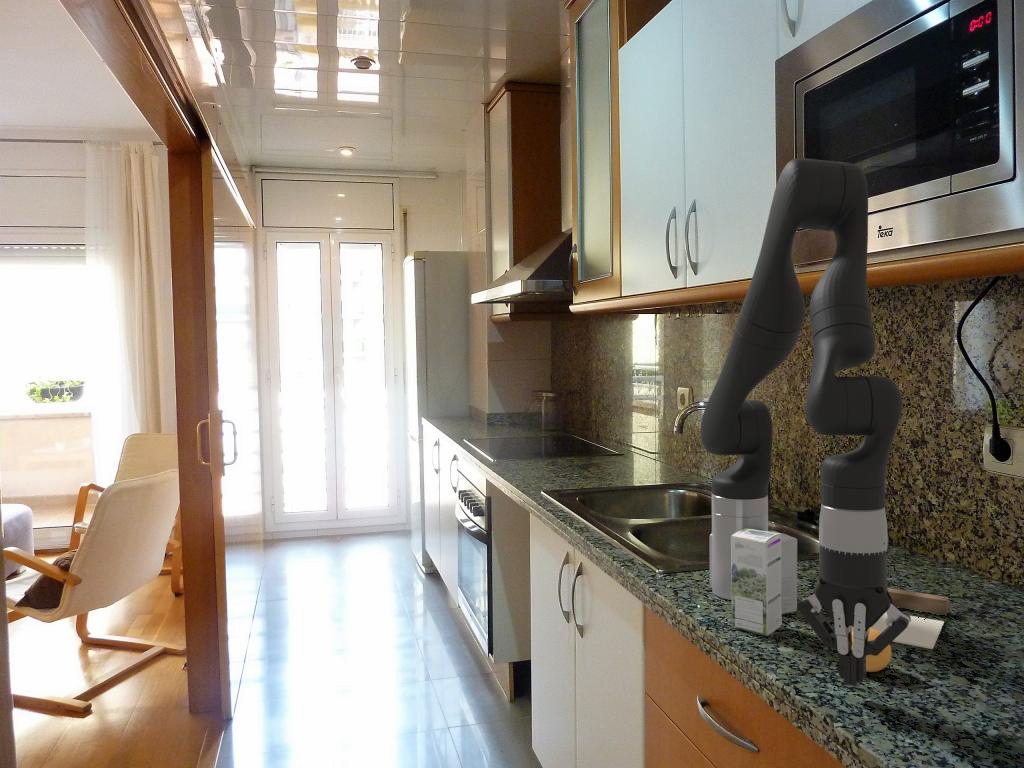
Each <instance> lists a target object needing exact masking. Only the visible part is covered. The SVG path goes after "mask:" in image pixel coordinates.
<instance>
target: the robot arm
mask: <svg viewBox="0 0 1024 768" xmlns="http://www.w3.org/2000/svg"><path fill="white" fill-rule="evenodd" d="M867 182H868V181H867V178H866V175H865V173H864V170H863V169H862V168H861V167H860V166H859V165H857V164H855V163H851V162H844V161H835V160H825V159H824V160H823V159H816V158H805V157H802V158H799V157H798V158H793V159H791V160H790V161H788V162H787V163H786V164H785V166H784V168H783V169H782V171H781V172H780V175H779V177H778V181H777V183H776V186H775V189H774V192H773V196H772V200H771V201H772V202H771V205H770V209H769V212H768V217H767V223H766V226H765V229H764V230H765V231H764V235H763V239H762V244H761V246H760V247H761V248H760V251H759V255H758V257H757V258H758V259H757V262H756V266H755V269H754V272H753V275H752V278H751V280H750V283H749V286H748V289H747V291H746V295H745V297H744V300H743V303H742V305H741V309H740V311H739V314H738V318H737V321H736V323H735V328H734V332H733V335H732V338H731V341H730V346H729V349H728V351H727V355H726V357H725V360H724V362H723V366H722V367H721V368H722V369H721V372H720V374H719V377H718V378H717V380H716V382H715V385H714V387H713V389H712V392H711V394H710V396H709V398H708V400H707V402H706V405H705V407H704V411H703V414H702V417H701V422H700V430H699V431H700V439H701V444H702V446H703V447H704V449H705V450H706V452H708V453H709V454H712V455H716V456H738V458H737V461H736V462H735V463H734V464H733V465H732V466H730V467H729V468H728V469H726V470H723V471H722V472H719V473H718V474H716V475H714V476H713V477H712V480H711V533H710V534H709V538H708V539H709V588H711V589H712V590H711V591H712V593H713V595H715V596H717V597H719V598H721V599H725V600H729V601H730V600H731V601H732V575H731V571H732V570H731V537H732V536H731V535H733V534H735V533H736V532H738V531H740V530H743V529H753V530H760V531H769V511H768V510H769V495H768V493H769V484H770V480H771V477H772V459H773V458H772V456H773V455H772V454H773V452H772V451H773V442H774V441H773V440H774V438H773V436H774V430H773V418H772V414H771V411H770V409H769V407H768V406H767V405H766V403H764V402H763V401H761V400H758V399H747V397H749V394H750V393H751V392H752V391H753V390H754V389H755V388H756V387H757V386H759V384H760V383H761V382H762V381H763V380H765V379H766V378H767V377H769V376H770V375H771V373H773V372H774V371H775V370H776V369H778V367H779V366H780V365H782V363H784V361H785V360H786V359H787V358H788V357H789V356H790V354H791V353H792V351H793V349H794V347H795V346H796V343H797V339H798V337H799V335H800V332H801V330H802V327H803V324H804V322H805V318H806V314H807V313H806V312H807V311H806V310H807V307H806V301H805V298H804V294H803V290H802V288H801V285H800V282H799V280H798V276H797V275H796V274H797V273H796V271H795V270H796V269H795V267H794V263H793V262H794V261H793V258H792V255H793V254H792V250H793V244H794V239H795V236H796V233H797V232H798V230H799V229H804V230H805V229H806V230H813V231H815V230H817V231H827V232H828V231H829V232H833V234H834V236H835V243H836V247H835V252H834V255H832V258H831V261H830V262H829V264H828V265H827V266H826V268H825V270H824V272H823V273H822V275H821V276H820V278H819V280H818V282H817V283H816V284H815V286H814V288H813V290H812V294H811V297H810V302H809V321H810V328H811V329H810V330H811V338H812V346H813V347H812V348H813V359H812V361H813V362H812V369H811V377H810V381H809V385H808V390H807V394H806V397H805V403H804V415H805V418H806V420H807V423H808V425H809V427H810V428H811V429H812V430H814V432H816V433H817V434H819V435H823V436H864V437H863V440H862V442H861V443H860V445H858V447H856V449H854V450H851V451H846V452H844V453H837V454H834V455H833V454H832V455H829V456H828V457H826V458H824V459H823V461H822V463H821V468H820V482H821V483H820V496H821V497H820V513H819V519H818V568H819V569H818V584H817V585H816V586H815V589H814V593H813V594H812V595H810V596H804V597H803V598H802V599H801V600H800V601H799V602H797V610H798V611H799V612H800V613H801V615H802V616H803V617H804V619H805V620H806V622H807V623H808V625H810V627H811V629H812V630H813V632H815V634H816V635H817V637H818V639H819V640H820V641H821V643H822V644H823V646H826V647H831V648H833V649H835V651H836V652H837V655H838V676H839V678H840V679H842V680H843V684H844V685H847V686H852V687H856V688H858V687H859V685H860V684H862V683H864V680H865V678H866V676H867V671H866V656H867V655H873V656H877V655H879V654H880V653H881V652H882V651H883V650H884V649H885V648H886V647H887V646H888V645H889V644H890V645H891V644H892V641H893V640H894V639H895V638H896V637H897V636H899V635H900V634H901V633H902V632H903V631H904V630H905V629H906V628H907V626H908V625H909V623H910V621H911V617H910V616H911V615H910V614H909V613H906V612H901V611H900V610H899V609H898V608H896V607H894V606H893V605H892V598H891V596H890V594H889V592H888V589H887V588H888V544H889V535H888V523H887V522H888V521H887V517H886V516H887V515H886V471H887V467H888V466H887V465H888V462H889V457H890V453H891V449H892V445H893V441H894V439H895V437H896V433H897V430H898V427H899V424H900V421H901V418H902V413H903V405H904V404H903V403H904V401H903V396H902V393H901V389H899V388H898V386H897V384H896V383H895V382H894V381H893V380H892V379H890V378H889V377H886V376H881V375H879V376H878V375H873V376H872V375H871V376H869V375H868V376H867V375H865V376H863V375H861V376H837V375H836V373H837V372H841V371H844V370H847V369H853V368H855V367H859V366H861V365H864V364H866V363H867V362H869V361H870V360H871V359H872V358H873V357H874V355H875V353H876V340H875V335H874V334H875V333H874V327H873V322H872V314H871V308H870V302H869V295H868V294H869V293H868V277H867V276H868V274H867V273H868V272H867V271H868V245H869V190H868V183H867ZM746 399H747V400H746ZM822 608H823V610H824V611H825V612H826V614H827V615H828V617H829V618H830V619H831V620H832V621H833V622H834V628H833V626H832V625H831V623H829V621H828V619H827V618H826V617H825V615H824V614H823V613H822ZM885 612H886V613H887V616H888V617H887V619H886V625H887V626H888V627H887V628H886V629H885V630H884V631H883V632H882V633H881V634H880V635H879V636H878V637H877V638H876V639H875V640H872V641H868V636H869V631H870V627H872V626H873V625H874V624H875V623H876V622H877V621H878V620H879V619H880V618H881V617H882V616H883V615H884V613H885ZM852 626H853V627H854V629H853V638H854V639H853V641H852ZM852 645H853V650H852Z"/></svg>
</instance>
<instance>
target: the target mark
mask: <svg viewBox="0 0 1024 768" xmlns="http://www.w3.org/2000/svg"><path fill="white" fill-rule="evenodd" d="M909 616H910V617H911V621H910V623H909V625H908V626H907V628H906V629H905V630H904V631H903V632H902V633H901V634H900V635H899V636H897V637H896V638H895V639H894V640H893V641H892V642H893V643H898V644H904V645H908V646H913V647H920V648H923V649H924V648H925V649H929V650H933V649H934V647H935V645H936V644H937V643H936V642H937V640H938V638H939V636H940V634H941V632H942V629H943V627H942V626H944V624H945V621H943V620H937V619H934V618H932V619H931V618H926V617H919V616H916V615H915V616H914V615H909ZM887 617H888V616H887V613H886V612H885V613H884V615H883V616H882V617H881V618H880V619H879V620H878V621H877V622H876V623H875V624H874V625H873V626H872V627H870V628H872V629H875V630H877V631H879V632H880V633H882V632H883V631H884V630H885V629H886V628H887V627H888V626H887V625H886V619H887ZM918 617H919V618H918ZM925 618H926V619H925ZM924 619H925V620H924ZM853 629H854V627H853V626H852V632H853ZM892 642H891V643H892Z"/></svg>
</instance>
